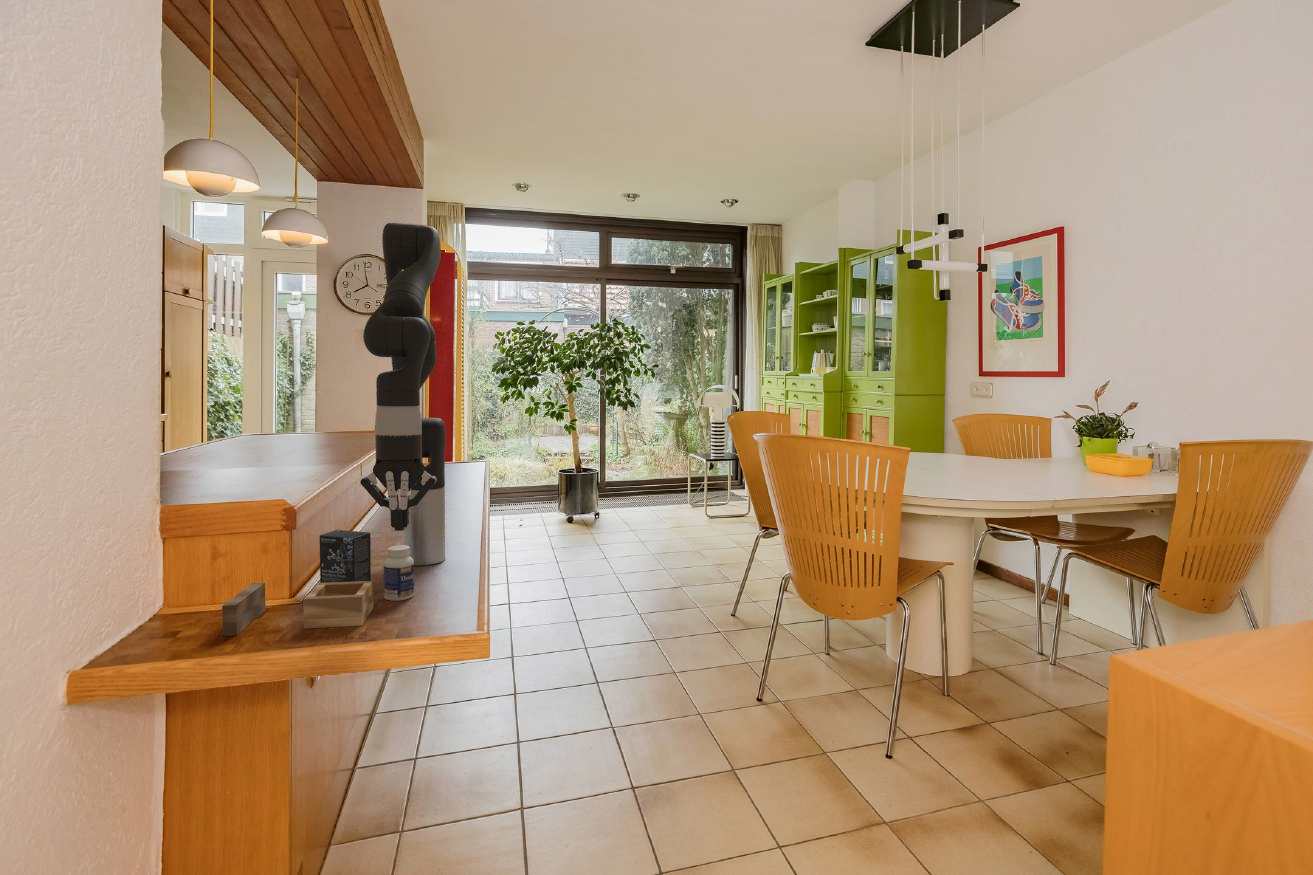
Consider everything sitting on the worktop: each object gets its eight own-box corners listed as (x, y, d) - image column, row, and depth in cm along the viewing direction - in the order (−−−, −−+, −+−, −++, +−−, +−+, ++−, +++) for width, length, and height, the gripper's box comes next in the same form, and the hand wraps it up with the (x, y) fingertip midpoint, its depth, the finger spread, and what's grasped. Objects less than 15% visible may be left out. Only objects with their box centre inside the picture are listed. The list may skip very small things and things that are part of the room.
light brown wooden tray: (320, 609, 116) (319, 582, 116) (373, 607, 118) (373, 580, 118) (304, 628, 108) (303, 599, 107) (361, 625, 110) (361, 596, 109)
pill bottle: (403, 602, 121) (403, 551, 120) (378, 600, 122) (377, 549, 122) (419, 593, 126) (419, 545, 126) (395, 591, 128) (394, 543, 127)
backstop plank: (253, 610, 116) (252, 583, 115) (265, 609, 116) (264, 582, 116) (223, 635, 104) (222, 605, 103) (236, 635, 104) (235, 605, 104)
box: (319, 586, 130) (318, 534, 129) (339, 578, 135) (338, 528, 134) (353, 590, 128) (352, 537, 127) (372, 581, 134) (371, 531, 133)
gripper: (441, 430, 118) (441, 524, 119) (363, 430, 115) (364, 526, 116) (435, 433, 110) (436, 533, 111) (352, 433, 107) (354, 535, 109)
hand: (399, 529), depth 114 cm, fingers closed
